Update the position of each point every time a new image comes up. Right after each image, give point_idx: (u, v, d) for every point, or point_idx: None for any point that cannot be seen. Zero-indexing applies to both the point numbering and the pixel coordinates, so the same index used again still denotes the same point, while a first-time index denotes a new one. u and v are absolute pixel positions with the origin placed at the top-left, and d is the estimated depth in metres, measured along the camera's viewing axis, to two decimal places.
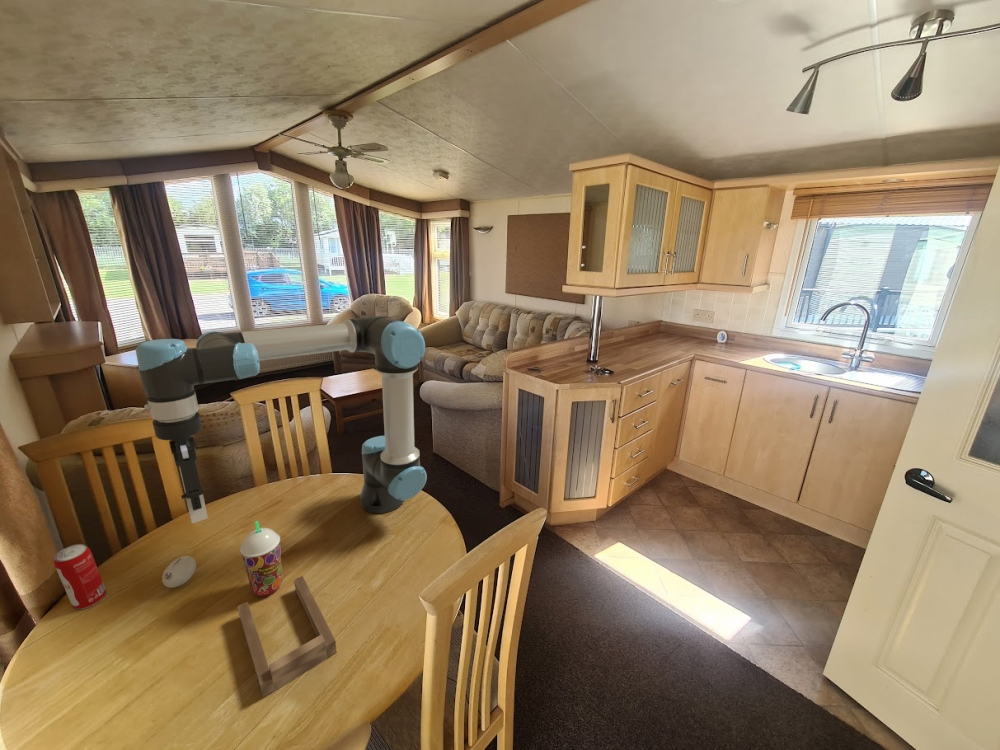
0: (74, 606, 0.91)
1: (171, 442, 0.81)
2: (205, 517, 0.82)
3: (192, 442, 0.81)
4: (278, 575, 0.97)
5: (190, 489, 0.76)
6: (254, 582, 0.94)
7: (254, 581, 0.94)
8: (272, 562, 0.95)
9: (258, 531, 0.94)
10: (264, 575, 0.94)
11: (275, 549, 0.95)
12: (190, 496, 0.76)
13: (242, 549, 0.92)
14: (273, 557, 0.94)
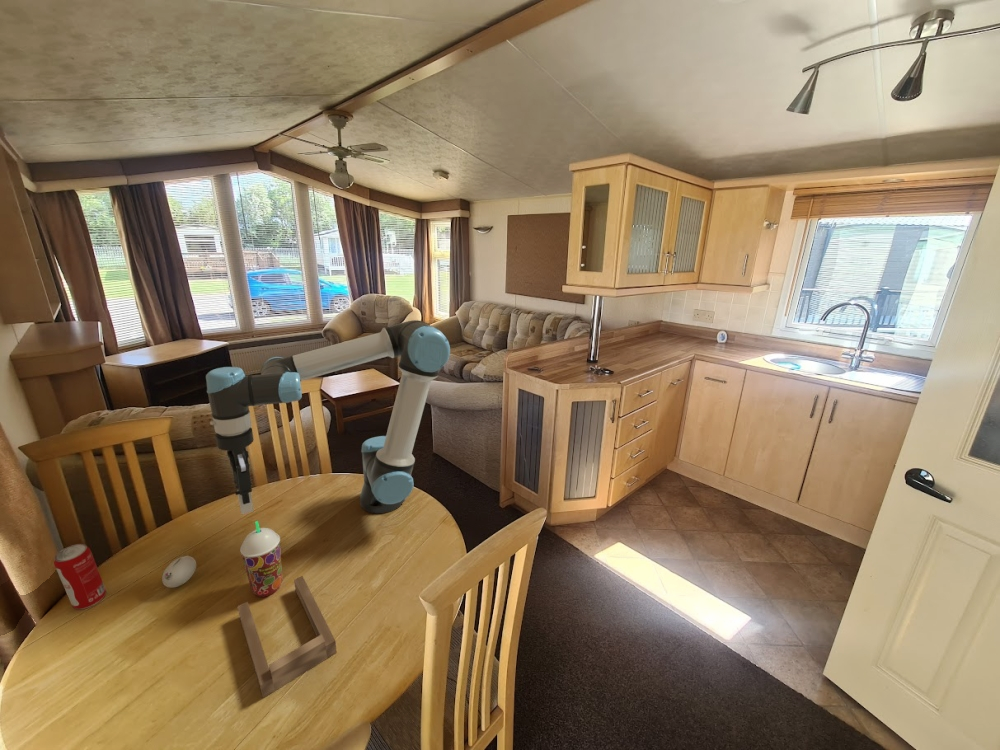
0: (74, 606, 0.91)
1: (228, 451, 0.98)
2: (251, 510, 1.03)
3: (246, 453, 0.98)
4: (278, 575, 0.97)
5: (243, 490, 0.97)
6: (254, 582, 0.94)
7: (254, 581, 0.94)
8: (272, 562, 0.95)
9: (258, 531, 0.94)
10: (264, 575, 0.94)
11: (275, 549, 0.95)
12: (243, 493, 0.98)
13: (242, 549, 0.92)
14: (273, 557, 0.94)
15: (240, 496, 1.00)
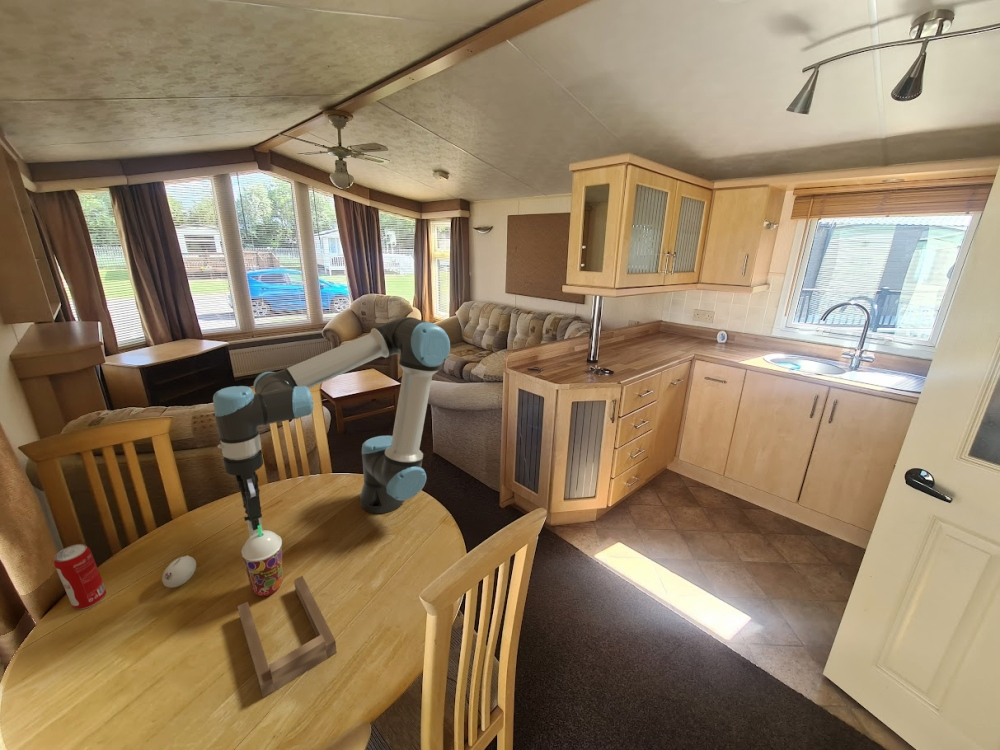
0: (74, 606, 0.91)
1: (237, 474, 0.92)
2: None
3: (256, 477, 0.92)
4: (279, 576, 0.97)
5: (253, 516, 0.92)
6: (255, 583, 0.94)
7: (255, 583, 0.94)
8: (273, 565, 0.94)
9: (260, 535, 0.92)
10: (265, 577, 0.94)
11: (277, 553, 0.94)
12: (252, 519, 0.92)
13: (243, 552, 0.91)
14: (275, 560, 0.94)
15: (249, 522, 0.95)
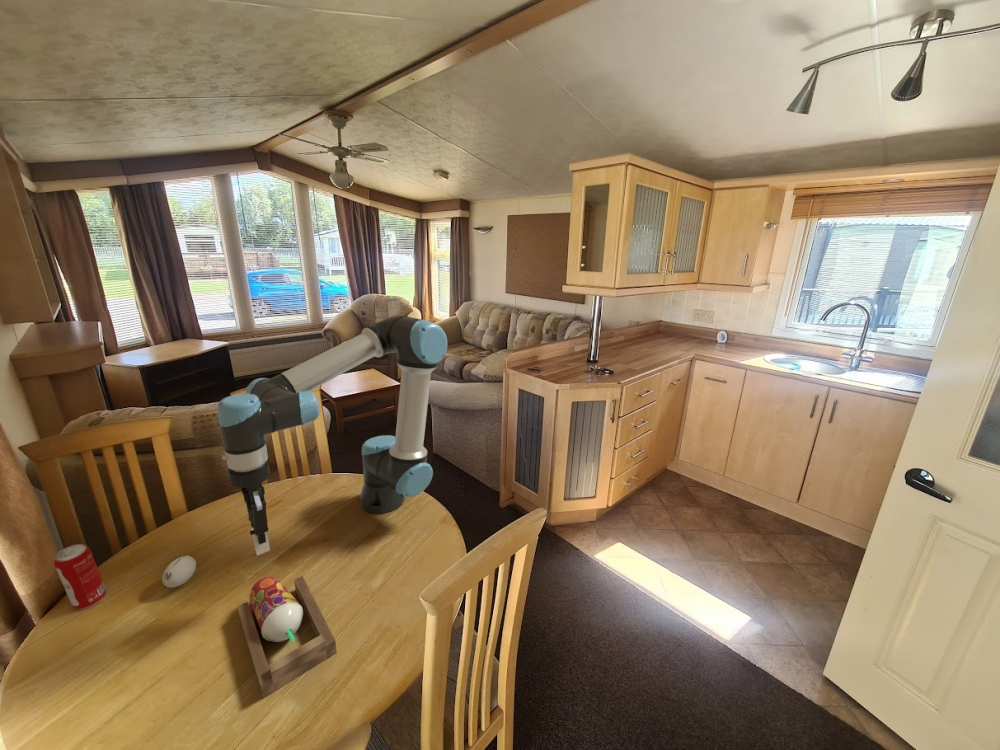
0: (74, 606, 0.91)
1: None
2: (268, 549, 0.93)
3: (262, 489, 0.88)
4: None
5: (259, 530, 0.87)
6: None
7: None
8: None
9: None
10: None
11: None
12: (258, 533, 0.88)
13: (265, 636, 0.83)
14: None
15: (255, 535, 0.90)
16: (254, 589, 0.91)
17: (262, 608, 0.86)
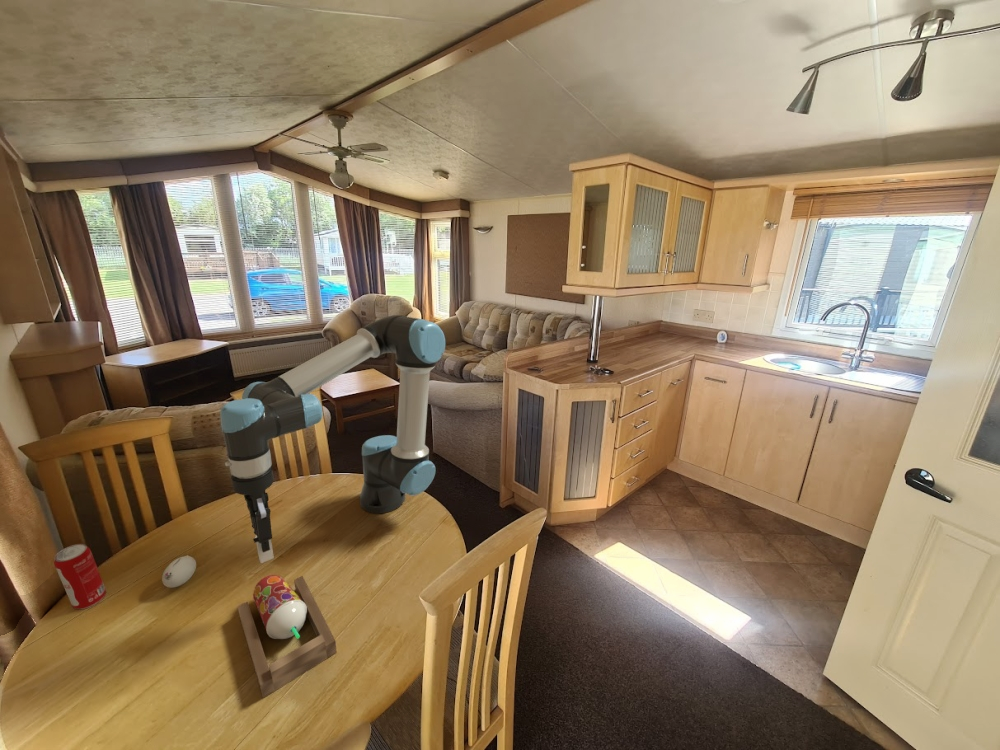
0: (74, 606, 0.91)
1: None
2: (271, 557, 0.91)
3: (266, 496, 0.86)
4: None
5: (263, 538, 0.85)
6: None
7: None
8: None
9: None
10: None
11: None
12: (262, 541, 0.86)
13: (269, 631, 0.84)
14: None
15: (259, 543, 0.88)
16: (260, 584, 0.92)
17: (269, 602, 0.87)
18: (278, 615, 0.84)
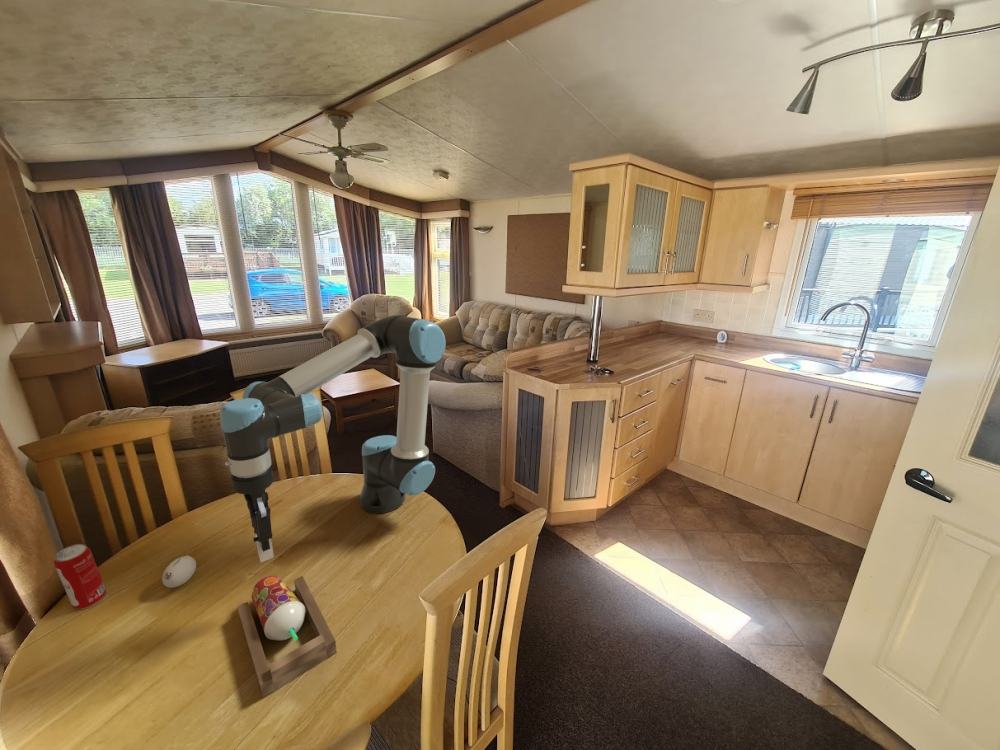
0: (74, 606, 0.91)
1: None
2: (271, 556, 0.91)
3: (266, 495, 0.86)
4: None
5: (263, 537, 0.86)
6: None
7: None
8: None
9: None
10: None
11: None
12: (262, 540, 0.86)
13: (267, 634, 0.84)
14: None
15: (259, 542, 0.89)
16: (257, 586, 0.92)
17: (266, 605, 0.87)
18: (275, 618, 0.84)
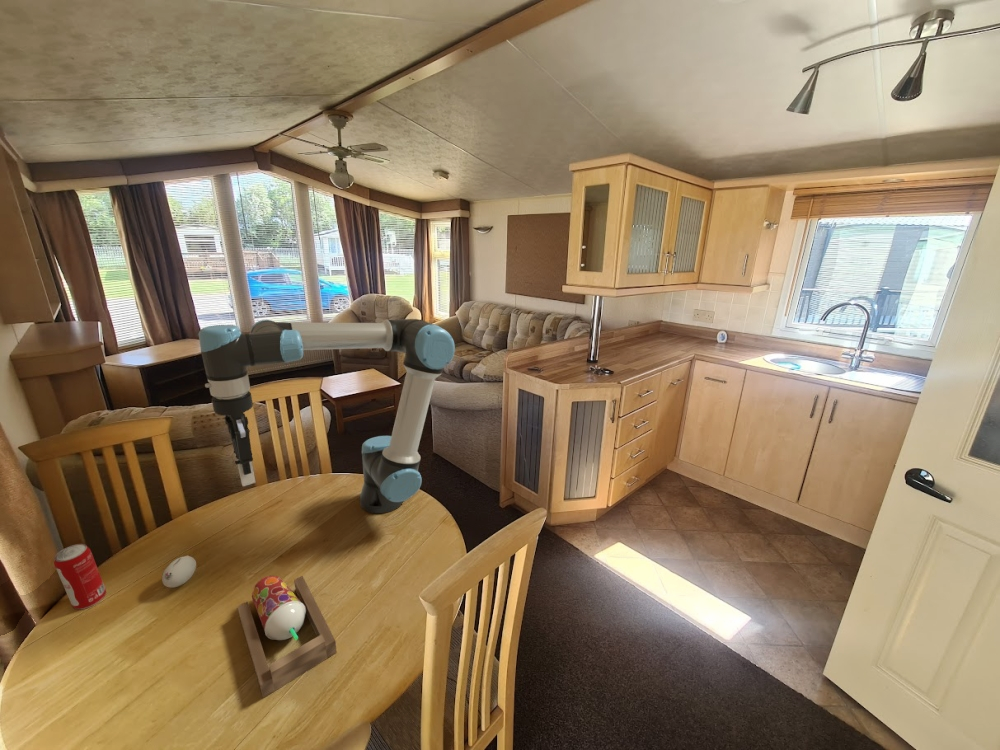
0: (74, 606, 0.91)
1: (226, 417, 0.91)
2: (253, 481, 0.96)
3: (245, 419, 0.91)
4: None
5: (244, 458, 0.91)
6: None
7: None
8: None
9: None
10: None
11: None
12: (243, 462, 0.91)
13: (268, 633, 0.84)
14: None
15: (240, 466, 0.93)
16: (258, 586, 0.92)
17: (267, 604, 0.87)
18: (275, 617, 0.84)
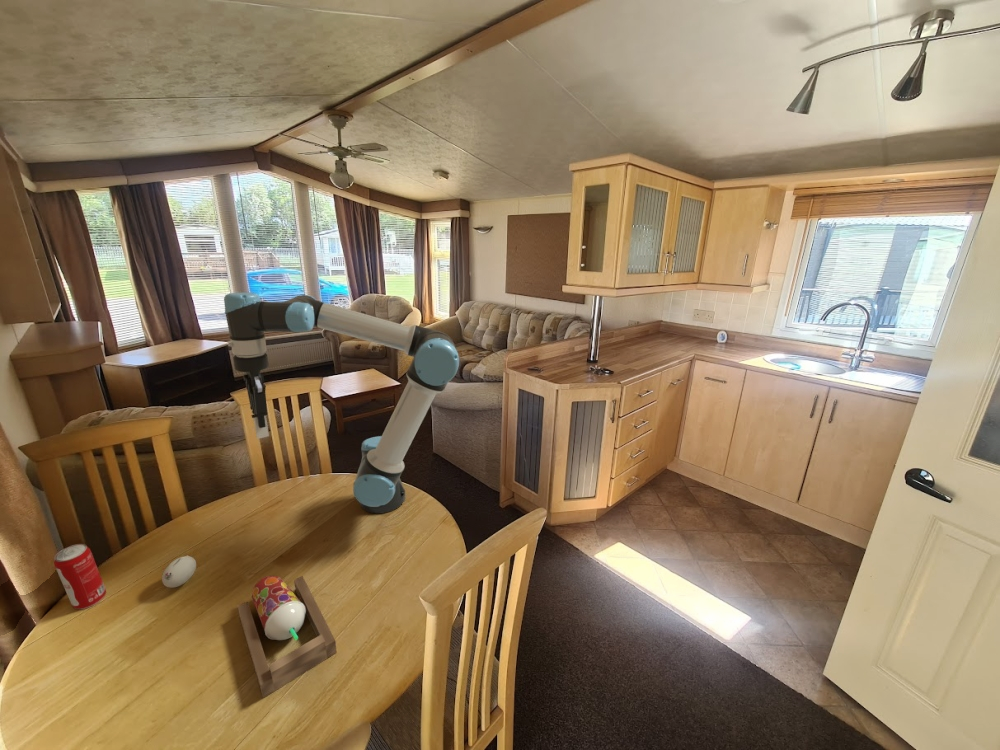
0: (74, 606, 0.91)
1: (245, 375, 1.02)
2: (267, 435, 1.08)
3: (262, 377, 1.02)
4: None
5: (260, 412, 1.02)
6: None
7: None
8: None
9: None
10: None
11: None
12: (259, 415, 1.03)
13: (268, 633, 0.84)
14: None
15: (256, 420, 1.05)
16: (258, 586, 0.92)
17: (267, 604, 0.87)
18: (275, 617, 0.84)
